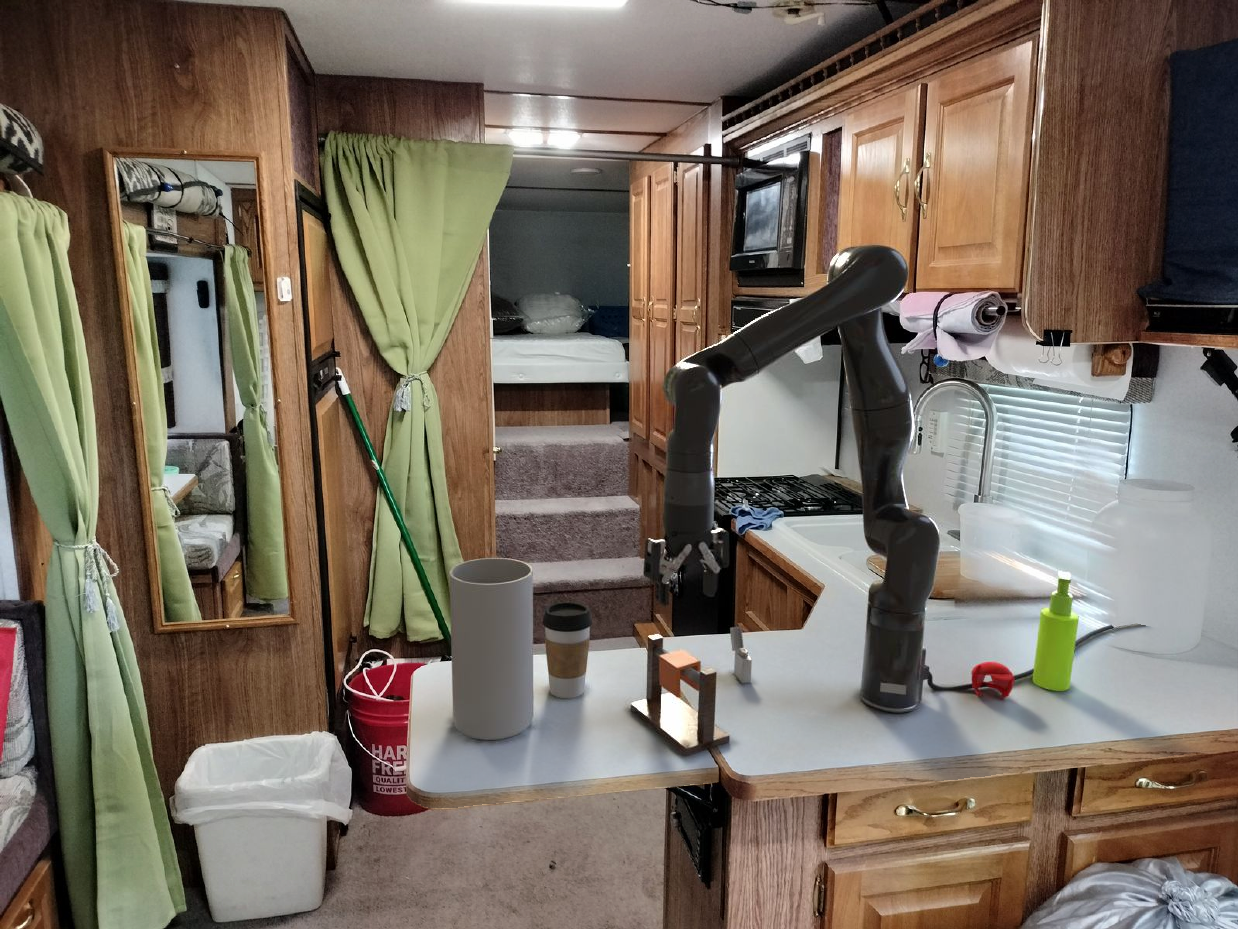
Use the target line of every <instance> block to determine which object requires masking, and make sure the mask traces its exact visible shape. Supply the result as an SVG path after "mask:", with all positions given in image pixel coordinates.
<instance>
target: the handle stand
mask: <svg viewBox="0 0 1238 929" xmlns="http://www.w3.org/2000/svg"><path fill="white" fill-rule="evenodd" d="M646 649H647V651H646V652H647V654H646V655H647V656H646V657H647V658H646V693H645V695H646V696H645V699H642V700H638V701H634V702H630V711H632V712H633V713H634V714H635V715H636V716H637V717H639V718H640V719H641V720H642V721H643V722H645V724H647V725H649V727H650V728H651V729H653V730H654V731H656V733H658V734H659V735H660V736H661V737H663V738H664V739H665V740H666V741H668V742H669V744H671V745H673V746H674V748H676V749H677V750H678V751H679V752H681V753H682V754H683V755H684V756H686V757H687V756H691V755H693V754H697V753H700V752H703V751H707V750H711V749H713V748H717V747H719V746H722V745H726V744H729V743H730V738H731V736H730V734H728V733H727V732H726V731H724V730H723V729H722V728H721V727H720V726H718V725H717V724H715V723H716V722H715V721H716V697H717V677H718V676H717V674H718V673H717V671H716V670H714V669H712V668H711V667H709V668H705V669H701V671H700V673H698V672H697V671H695V670H694V669H692V668H691V667H690V668H687V669H683V670H680V673H681V674H683V675H684V676H685V677H687V678H688V679H690V680H691V681H693V682H694V683H696V684H697V685H698V686H699V691H698V700H697V702H698V703H697V710H696V709H695V708H693V707H692V706H690V705H689V704H688V703H686V702H685V701H684V700H682V699H681V697H679V698H677V697H676V696H674V695H673V694H671V693H670V692H668V693H664V694H662V693H663V692H662V691H663V687H662V686H661V685H660V670H659V656H660V655H663V654H667V653H670V652H668V651H667V650H666V649H664V637H663V636H662V635H661V634H659V633H657V634H652V635H648V636H647V648H646Z"/></svg>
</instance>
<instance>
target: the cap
mask: <svg viewBox="0 0 1238 929" xmlns="http://www.w3.org/2000/svg"><path fill="white" fill-rule="evenodd" d="M972 668H973V669H972V670H971V684H972V687H973V690H974V692H975V694H976V696H978V697H981V696H982V692H981V690H980V689H981V688H980V686H981V684H982V683H986V684H987V687H986V688H990V689H994V690H996V691H998V692H1000V698H1001V699H1002V700H1003V699H1006V698H1008V697H1010V694H1011V692H1012V690H1013V689H1014V685H1015V681H1014V674H1013V673H1012V671H1011V670H1010V669H1009V668H1008V667H1007V666H1006V665H1005V664H1002V663H1000V662H996V661H985V662H981V663H978V664H976V665H975V666H974V667H972ZM986 676H990V679H991V681H993V683H991V682H989V681H985V678H986Z"/></svg>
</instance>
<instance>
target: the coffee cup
mask: <svg viewBox="0 0 1238 929" xmlns="http://www.w3.org/2000/svg"><path fill="white" fill-rule="evenodd" d="M590 608H591V607H589V606H588V605H586V604H583V603H580V602H577V601H560V602H559V601H558V602H554V603H551V604H549V605H547V606H546V607H545V610H544V615H543V617H542V621H541V622H542V626H543V627H544V631H545V632H544V635H543V636H544V646H545V655H546V664H547V672H548V688H549V692H550V694H551V695H552V696H554V697H556V698H559V699H573V698H578V697H580V696H581V695H583V694H584V692H585V687H586V676H587V675H586V674H587V668H588V659H589V658H588V657H589V649H590V642H591V641H590V640H591V632H590V630H591V629H590V628H591V626H592V625H593V617H592V615H591V609H590Z"/></svg>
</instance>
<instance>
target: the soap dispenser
mask: <svg viewBox="0 0 1238 929" xmlns="http://www.w3.org/2000/svg"><path fill="white" fill-rule="evenodd" d="M1056 575H1057V587H1056V590H1054V591H1052V592H1051V593H1050V601H1049V607H1045V608H1042V609H1041V610H1040V615H1039V623H1038V632H1037V638H1036V639H1037V640H1036V648H1035V655H1034V656H1035V657H1034V664H1033V669H1034V672H1033V674H1032V682H1033V683H1034V684H1035V685H1037V686H1038V687H1040V688H1042V689H1046V690H1050V691H1054V692H1055V691H1056V692H1063V691H1068V690H1069V689H1070V687H1071V680H1072V679H1071V678H1072V671H1073V662H1074V656H1075V648H1076V647H1075V642H1076V641H1077V633H1078V627H1079V618H1080V617H1079V615H1078V614H1077V613H1075V612H1073V611H1072V610H1073V602H1074V601H1073V600H1074V596H1073V594H1071V593H1070V592H1069V587H1070V584H1071V583H1072V577H1071V573H1070V572H1067V571H1060V570H1059V571H1058V570H1057V572H1056Z"/></svg>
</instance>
